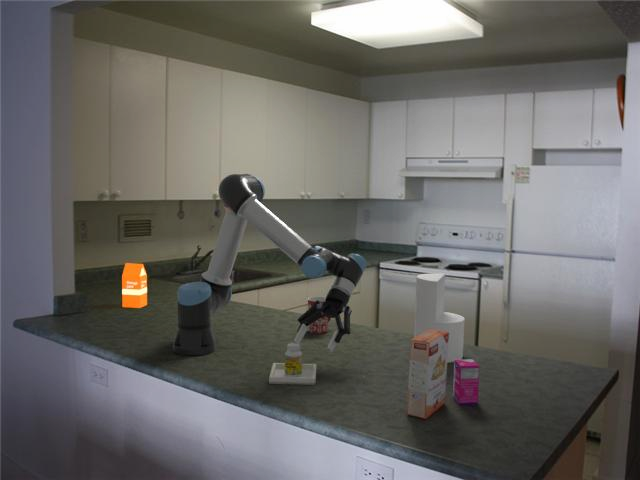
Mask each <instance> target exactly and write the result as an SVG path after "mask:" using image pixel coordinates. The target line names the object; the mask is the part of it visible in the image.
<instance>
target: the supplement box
mask: <svg viewBox="0 0 640 480" xmlns="http://www.w3.org/2000/svg"><path fill="white" fill-rule="evenodd" d="M452 382H453V386H452V387H453V388H452V389H453V390H452V398H453V399H454V400H455V401H456V402H457V404H458V405H459V406H461V405H463V406H468V405H470V406H471V405H474V406H475V405H476V406H477V405H479V392H480V390H479V389H480V388H479V385H480V364H478V363H477V362H476V361H475V360H474V359H473V358H471V359H470V358H469V359H466V358H465V359H461V360H454V362H453V381H452Z"/></svg>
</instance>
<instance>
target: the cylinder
mask: <svg viewBox="0 0 640 480" xmlns="http://www.w3.org/2000/svg"><path fill="white" fill-rule="evenodd" d="M415 280H416V281H415V282H416V284H415V303H414V304H415V309H414V310H415V311H414V333H413V334H414V335H413V338H415V337H417V336H419V335H421V334H423V333H425V332H426V331H428V330H430V329H433V330H439V331H445V332H448V333H449V340H448V357H447V363H454V360H463V356H464V337H465V317H464V316H463V315H460V314H457V313H453V312H448V311H447V312H446V311H444V306H445V304H444V303H445V302H444V301H445V285H446V284H445V283H446V282H445V281H446V274H445V273H421V274H417V275H416V278H415Z"/></svg>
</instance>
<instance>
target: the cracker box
mask: <svg viewBox="0 0 640 480" xmlns="http://www.w3.org/2000/svg"><path fill="white" fill-rule="evenodd" d="M448 340H449V333H448V332H445V331H439V330H433V329H430V330H428V331H426V332H425V333H423V334H421V335H419V336H417V337H415V338H414V337H413V338H411V339H410V351H409V366H408V367H409V368H408V370H409V371H408V388H407V389H408V390H407V404H406V405H407V407H406V415H408V416H412V417H415V418H419V419H424V420H427V419H428V418H429V417H430V416H431V415H433V414H434V413H435V412H437V411H438V409H440V408H441V407H442V406H444V405H445V404H446V403H445V402H446V384H447V371H448V362H447V357H448Z"/></svg>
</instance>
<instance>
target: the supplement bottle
mask: <svg viewBox="0 0 640 480" xmlns="http://www.w3.org/2000/svg"><path fill="white" fill-rule="evenodd" d="M300 344H301V343H300ZM300 344H297V343H296V342H291V343H288V344H287V345H286V349H287V350H286V351H285V353H284V363H285V375H286V376H289V377H298V376H300V375H301V374H302V364H303V352H302V351H301V350H300V349H301V345H300Z"/></svg>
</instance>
